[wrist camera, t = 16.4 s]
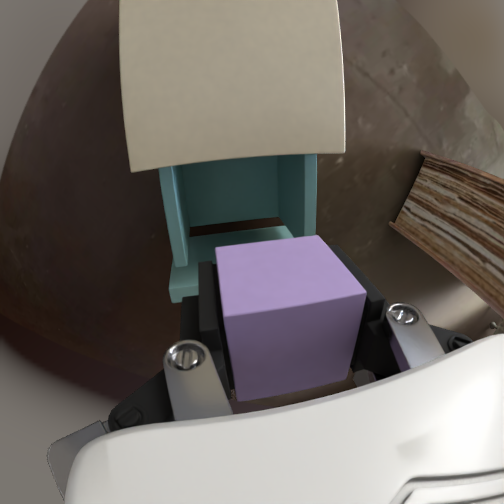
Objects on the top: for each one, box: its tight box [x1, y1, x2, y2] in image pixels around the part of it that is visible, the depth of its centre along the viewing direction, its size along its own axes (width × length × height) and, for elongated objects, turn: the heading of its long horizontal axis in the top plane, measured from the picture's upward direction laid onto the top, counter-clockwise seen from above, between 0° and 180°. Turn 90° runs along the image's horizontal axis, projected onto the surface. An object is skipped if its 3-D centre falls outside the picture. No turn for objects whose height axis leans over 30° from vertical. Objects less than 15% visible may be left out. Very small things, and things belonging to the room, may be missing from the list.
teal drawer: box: [158, 154, 317, 303], centre depth 21 cm, size 17×10×8 cm, turn 3°
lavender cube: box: [215, 235, 366, 402], centre depth 10 cm, size 4×4×4 cm
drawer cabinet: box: [119, 0, 345, 173], centre depth 15 cm, size 14×12×10 cm
